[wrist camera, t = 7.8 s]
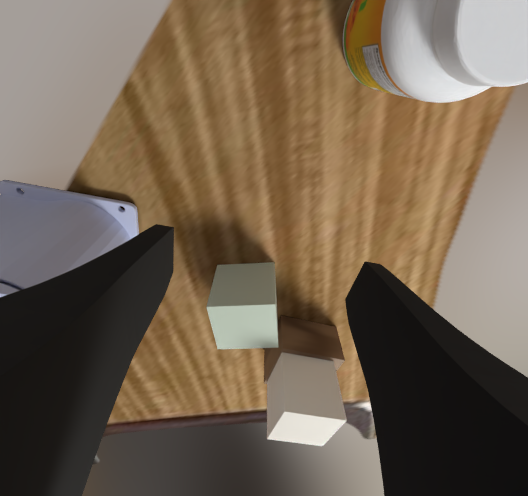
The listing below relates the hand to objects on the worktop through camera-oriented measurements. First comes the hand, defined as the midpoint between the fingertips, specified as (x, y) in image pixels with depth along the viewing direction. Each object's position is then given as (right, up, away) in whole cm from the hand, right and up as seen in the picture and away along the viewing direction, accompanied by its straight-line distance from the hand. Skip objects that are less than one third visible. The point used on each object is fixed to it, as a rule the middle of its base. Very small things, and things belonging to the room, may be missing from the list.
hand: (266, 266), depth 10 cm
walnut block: (+4, -9, +19) cm, 21 cm away
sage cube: (-2, -3, +15) cm, 15 cm away
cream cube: (+3, -11, +16) cm, 19 cm away
